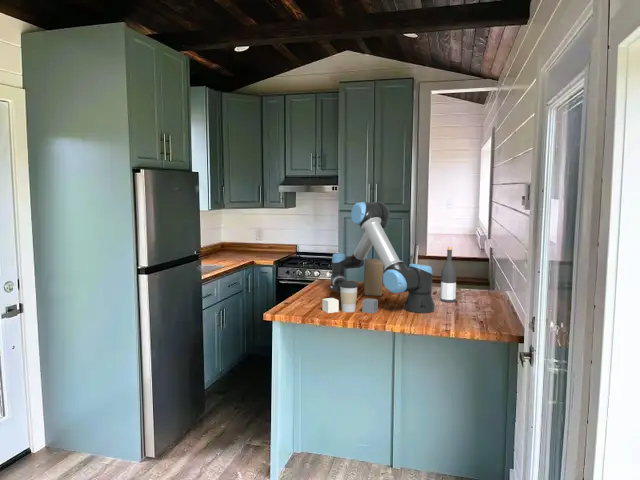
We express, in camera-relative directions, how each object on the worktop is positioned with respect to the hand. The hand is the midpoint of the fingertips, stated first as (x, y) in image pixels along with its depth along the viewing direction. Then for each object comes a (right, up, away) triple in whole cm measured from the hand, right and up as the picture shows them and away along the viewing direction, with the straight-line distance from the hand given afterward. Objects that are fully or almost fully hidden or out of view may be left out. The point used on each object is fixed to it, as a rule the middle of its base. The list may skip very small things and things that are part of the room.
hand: (346, 293), depth 248 cm
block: (+17, -4, +31) cm, 36 cm away
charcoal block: (+12, -8, -7) cm, 16 cm away
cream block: (-8, -8, -7) cm, 14 cm away
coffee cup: (+1, -8, -6) cm, 10 cm away
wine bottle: (+57, -6, +16) cm, 60 cm away
